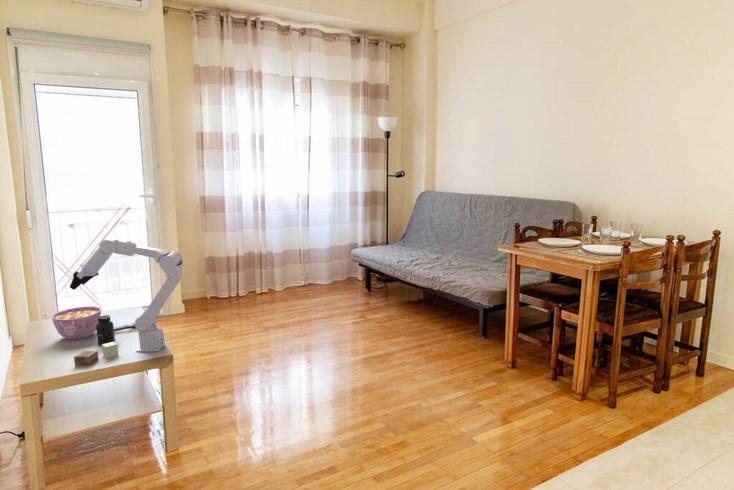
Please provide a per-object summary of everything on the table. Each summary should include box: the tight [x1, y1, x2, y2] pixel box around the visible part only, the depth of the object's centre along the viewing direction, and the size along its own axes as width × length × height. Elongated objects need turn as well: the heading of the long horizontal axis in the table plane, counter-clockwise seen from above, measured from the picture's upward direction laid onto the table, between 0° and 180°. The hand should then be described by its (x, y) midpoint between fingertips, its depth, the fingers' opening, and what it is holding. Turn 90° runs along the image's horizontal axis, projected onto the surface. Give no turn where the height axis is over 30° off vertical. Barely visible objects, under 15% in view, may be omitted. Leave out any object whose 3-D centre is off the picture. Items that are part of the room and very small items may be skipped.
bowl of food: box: [50, 305, 102, 341], centre depth 223 cm, size 20×20×12 cm
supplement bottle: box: [96, 314, 116, 346], centre depth 215 cm, size 7×7×12 cm
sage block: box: [101, 341, 119, 359], centre depth 201 cm, size 4×4×5 cm
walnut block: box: [73, 350, 99, 367], centre depth 194 cm, size 6×6×4 cm
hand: (76, 285), depth 202 cm, fingers open, 7 cm apart
